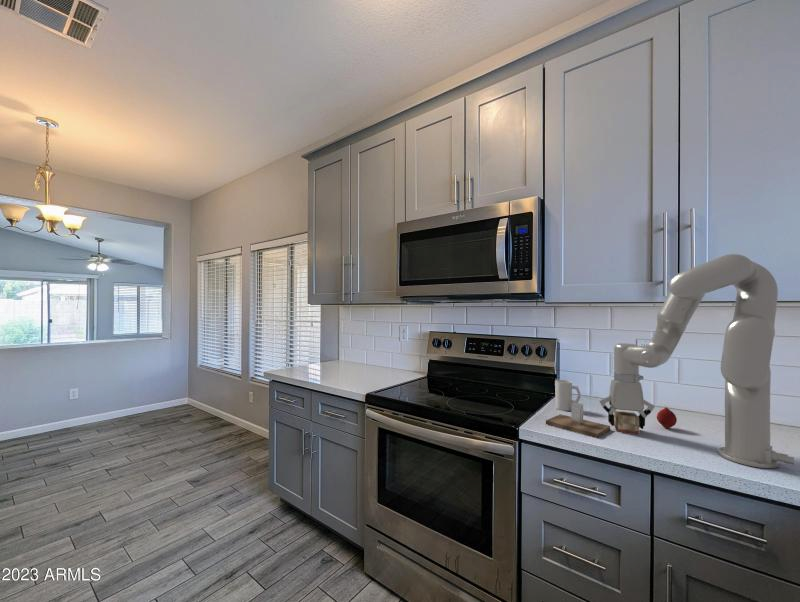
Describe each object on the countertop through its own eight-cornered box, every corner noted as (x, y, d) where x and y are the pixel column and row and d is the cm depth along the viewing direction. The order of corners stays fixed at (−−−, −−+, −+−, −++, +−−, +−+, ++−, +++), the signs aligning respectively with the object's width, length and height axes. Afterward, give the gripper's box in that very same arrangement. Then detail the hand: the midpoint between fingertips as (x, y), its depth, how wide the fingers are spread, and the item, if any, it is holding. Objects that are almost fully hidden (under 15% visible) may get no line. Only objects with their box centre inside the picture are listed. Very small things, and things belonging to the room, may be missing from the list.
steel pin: (583, 423, 129) (583, 404, 129) (579, 425, 127) (579, 405, 127) (574, 421, 132) (574, 402, 132) (571, 422, 130) (571, 404, 130)
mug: (553, 409, 152) (553, 381, 152) (557, 405, 157) (557, 379, 158) (578, 413, 146) (578, 384, 146) (582, 409, 151) (582, 382, 151)
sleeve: (633, 428, 128) (633, 412, 128) (639, 434, 122) (639, 417, 123) (614, 426, 130) (614, 410, 130) (618, 432, 124) (618, 415, 125)
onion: (677, 428, 129) (677, 406, 129) (675, 432, 125) (675, 410, 125) (658, 424, 133) (658, 403, 133) (655, 428, 129) (655, 406, 129)
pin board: (610, 430, 127) (610, 425, 127) (597, 438, 119) (597, 433, 119) (560, 417, 140) (560, 414, 140) (545, 424, 132) (545, 420, 132)
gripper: (650, 377, 127) (650, 425, 127) (596, 374, 133) (596, 420, 133) (658, 381, 120) (658, 432, 120) (601, 378, 126) (601, 426, 126)
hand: (626, 426), depth 126 cm, fingers open, 8 cm apart
